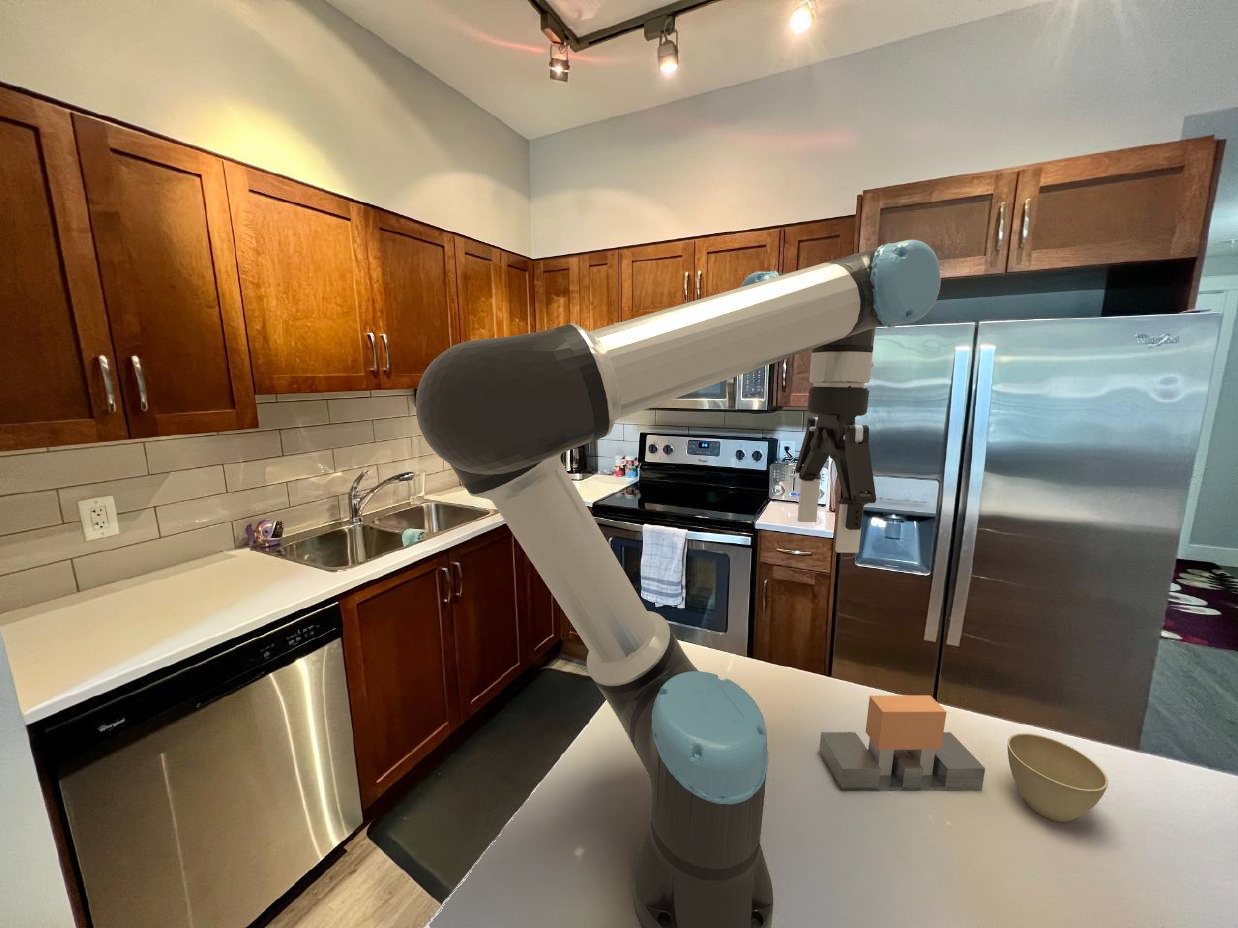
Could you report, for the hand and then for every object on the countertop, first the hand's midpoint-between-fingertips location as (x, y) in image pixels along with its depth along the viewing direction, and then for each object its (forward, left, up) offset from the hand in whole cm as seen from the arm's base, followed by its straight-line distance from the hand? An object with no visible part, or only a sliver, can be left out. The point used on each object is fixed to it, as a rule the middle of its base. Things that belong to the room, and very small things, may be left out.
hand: (824, 535), depth 70 cm
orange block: (+12, -5, -34) cm, 36 cm away
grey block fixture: (+12, -5, -34) cm, 37 cm away
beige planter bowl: (+29, -11, -35) cm, 46 cm away
